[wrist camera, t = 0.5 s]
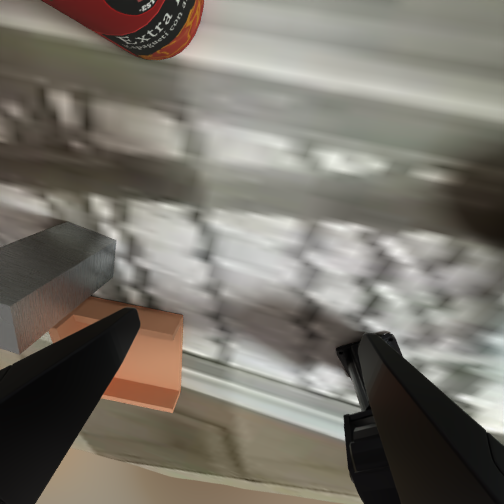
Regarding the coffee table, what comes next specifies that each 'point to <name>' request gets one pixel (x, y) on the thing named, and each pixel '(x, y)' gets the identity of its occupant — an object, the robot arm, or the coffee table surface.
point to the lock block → (49, 280)
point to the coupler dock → (137, 353)
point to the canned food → (138, 23)
